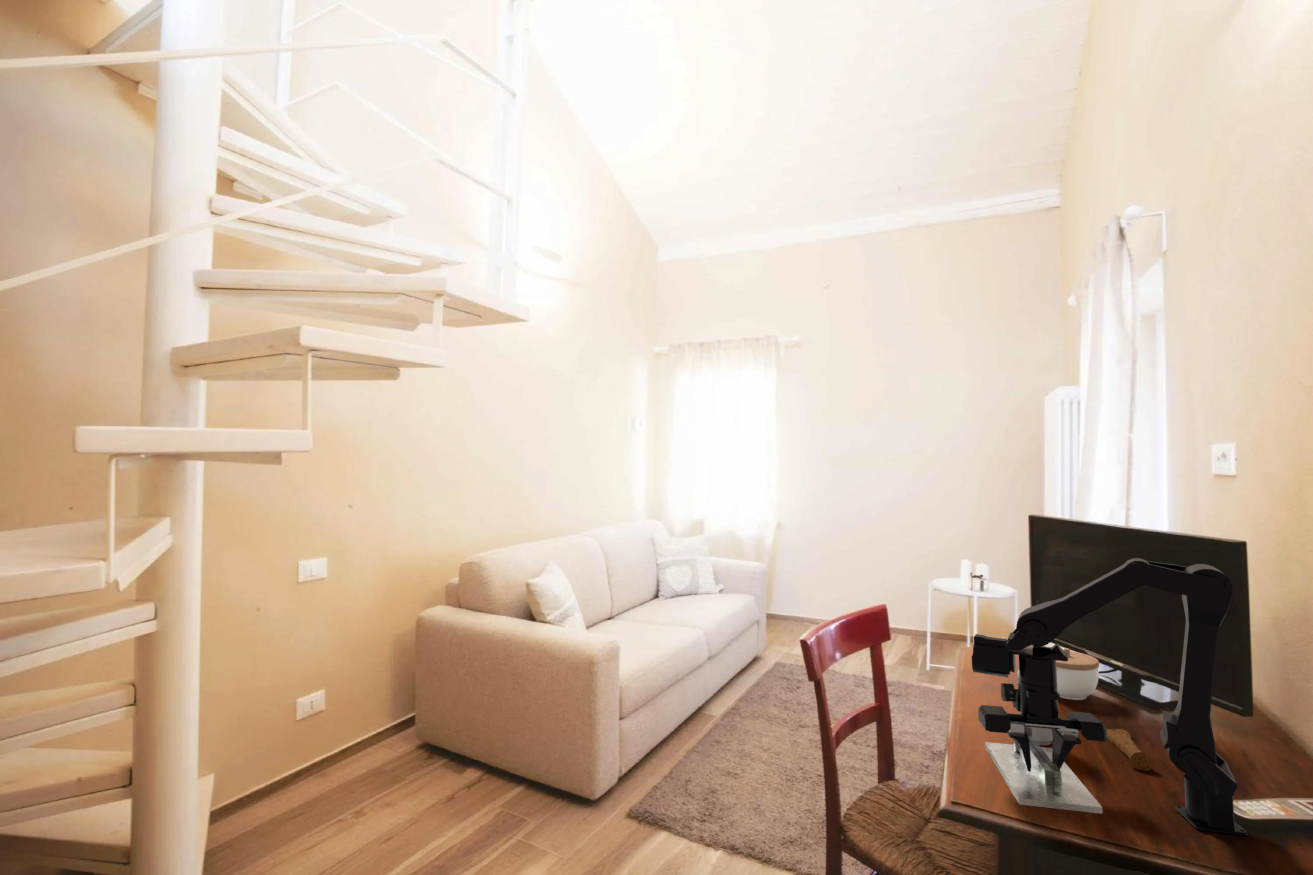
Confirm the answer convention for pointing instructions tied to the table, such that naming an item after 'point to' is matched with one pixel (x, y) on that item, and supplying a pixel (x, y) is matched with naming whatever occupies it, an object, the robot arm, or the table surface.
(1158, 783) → the table surface
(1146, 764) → the primitive tool
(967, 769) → the table surface
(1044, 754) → the green glass bar
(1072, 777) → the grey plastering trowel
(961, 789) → the table surface
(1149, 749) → the table surface
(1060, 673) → the lidded bowl
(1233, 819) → the robot arm
